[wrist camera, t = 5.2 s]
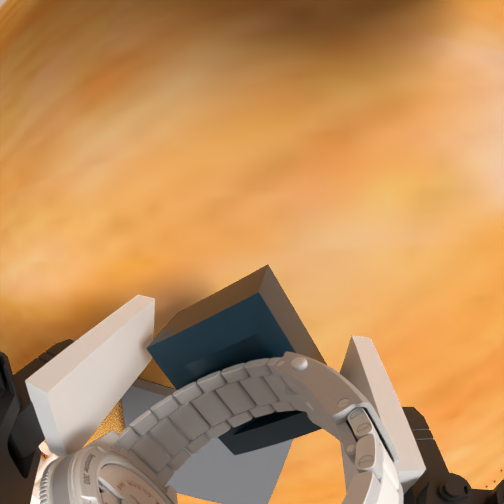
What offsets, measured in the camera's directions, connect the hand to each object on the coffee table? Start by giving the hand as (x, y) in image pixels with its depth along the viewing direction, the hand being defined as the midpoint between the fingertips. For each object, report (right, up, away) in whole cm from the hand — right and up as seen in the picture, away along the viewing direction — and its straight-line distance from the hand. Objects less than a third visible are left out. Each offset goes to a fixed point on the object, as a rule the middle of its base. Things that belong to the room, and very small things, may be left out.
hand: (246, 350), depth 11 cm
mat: (-4, -12, +8) cm, 15 cm away
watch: (0, 0, +1) cm, 1 cm away
